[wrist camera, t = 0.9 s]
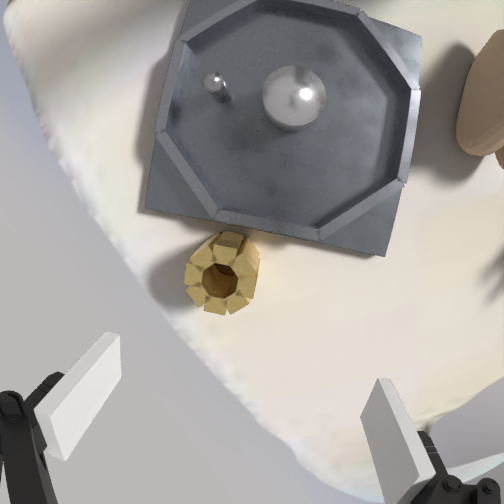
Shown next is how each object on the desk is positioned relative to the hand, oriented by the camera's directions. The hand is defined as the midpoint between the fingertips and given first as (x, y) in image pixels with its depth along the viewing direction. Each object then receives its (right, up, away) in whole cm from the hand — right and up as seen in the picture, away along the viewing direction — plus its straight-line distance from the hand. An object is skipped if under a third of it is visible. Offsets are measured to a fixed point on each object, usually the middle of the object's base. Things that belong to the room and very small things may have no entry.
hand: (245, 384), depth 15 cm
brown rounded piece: (+27, +23, +12) cm, 38 cm away
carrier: (+4, +20, +14) cm, 25 cm away
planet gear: (-2, +6, +18) cm, 19 cm away
